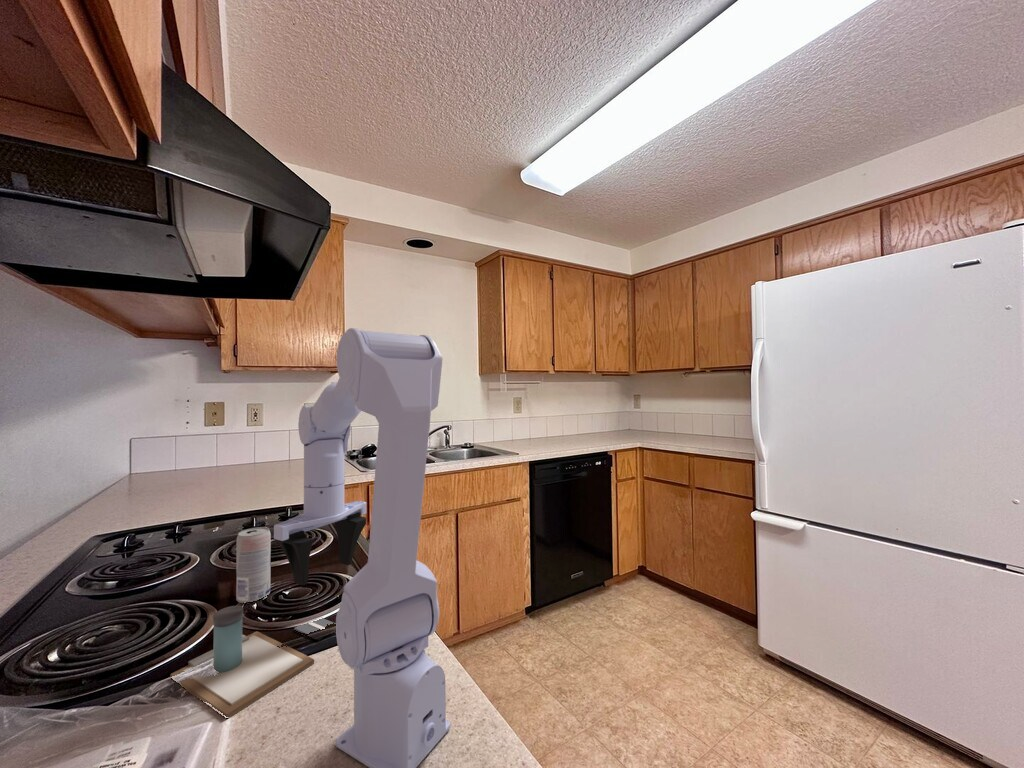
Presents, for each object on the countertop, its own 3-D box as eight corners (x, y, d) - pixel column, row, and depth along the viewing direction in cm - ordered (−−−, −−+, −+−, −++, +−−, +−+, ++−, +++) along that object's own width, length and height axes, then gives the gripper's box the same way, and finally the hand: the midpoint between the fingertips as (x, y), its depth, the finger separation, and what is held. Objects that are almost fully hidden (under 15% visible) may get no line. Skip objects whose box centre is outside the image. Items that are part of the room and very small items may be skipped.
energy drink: (264, 587, 79) (264, 524, 79) (275, 595, 76) (275, 530, 76) (231, 598, 75) (232, 532, 75) (242, 607, 71) (242, 538, 72)
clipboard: (314, 663, 56) (314, 655, 56) (226, 719, 47) (226, 709, 47) (256, 635, 63) (256, 627, 63) (170, 678, 54) (170, 670, 54)
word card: (341, 628, 65) (341, 625, 65) (318, 641, 61) (318, 638, 61) (317, 618, 68) (317, 615, 68) (294, 630, 64) (294, 627, 64)
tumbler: (248, 661, 56) (248, 609, 56) (220, 676, 53) (220, 621, 53) (235, 653, 57) (235, 603, 58) (207, 667, 54) (207, 614, 55)
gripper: (346, 473, 71) (346, 551, 71) (261, 491, 58) (261, 586, 58) (375, 476, 68) (375, 559, 67) (291, 496, 55) (291, 598, 55)
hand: (324, 572), depth 62 cm, fingers open, 7 cm apart
